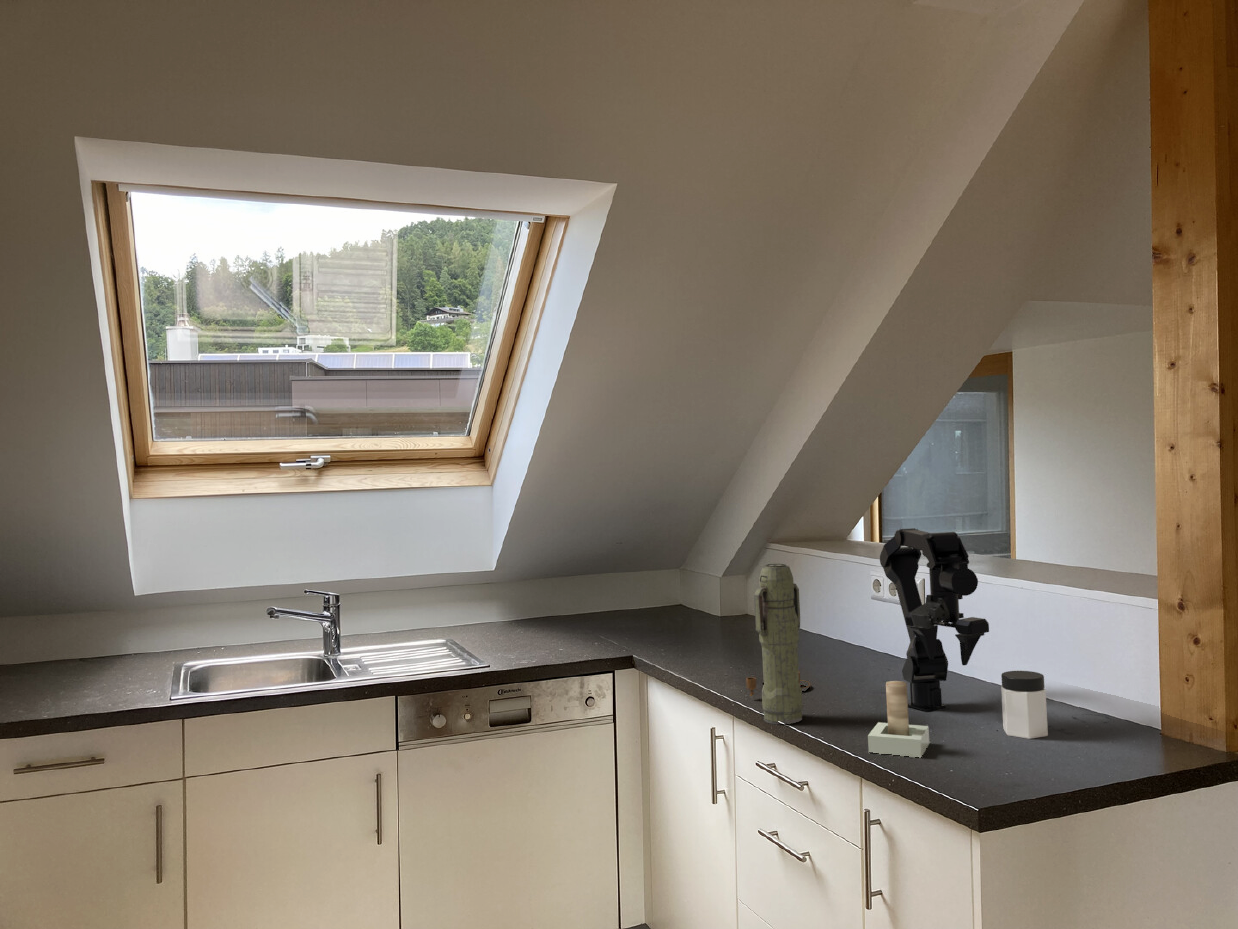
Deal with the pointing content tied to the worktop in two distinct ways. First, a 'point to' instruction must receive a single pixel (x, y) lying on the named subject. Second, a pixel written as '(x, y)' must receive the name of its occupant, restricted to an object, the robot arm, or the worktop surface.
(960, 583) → the robot arm
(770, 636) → the thermos
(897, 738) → the pale green square holder
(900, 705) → the dowel
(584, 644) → the worktop surface
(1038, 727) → the jar
